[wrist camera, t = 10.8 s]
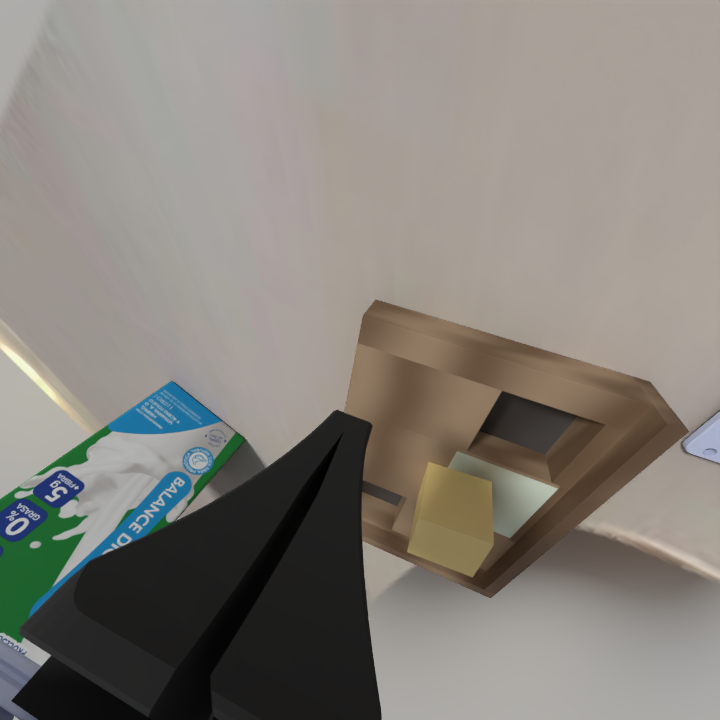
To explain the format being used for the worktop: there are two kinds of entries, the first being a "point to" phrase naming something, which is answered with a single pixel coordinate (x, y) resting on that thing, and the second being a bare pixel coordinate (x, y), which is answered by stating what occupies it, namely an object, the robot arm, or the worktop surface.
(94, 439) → the milk carton
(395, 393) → the board
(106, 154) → the worktop surface
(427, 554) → the ochre block
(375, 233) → the worktop surface
